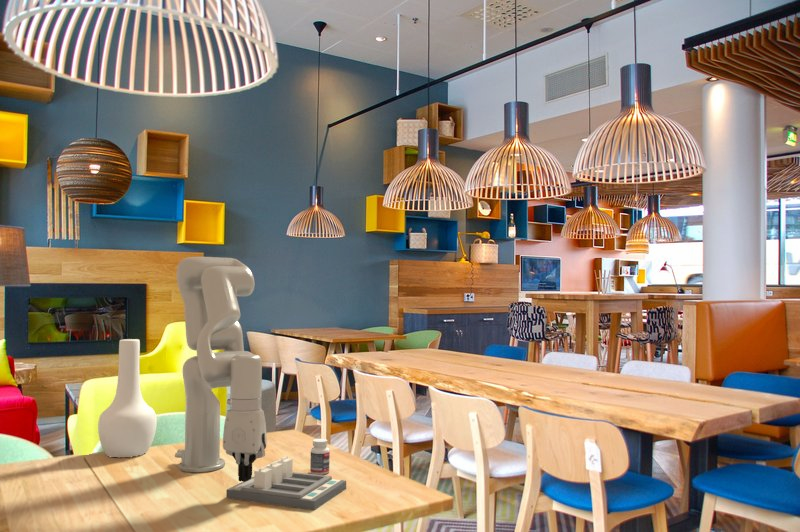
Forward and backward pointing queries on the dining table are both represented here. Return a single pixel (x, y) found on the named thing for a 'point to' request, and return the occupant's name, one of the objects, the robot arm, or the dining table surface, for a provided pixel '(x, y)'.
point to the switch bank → (291, 491)
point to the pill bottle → (320, 457)
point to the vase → (127, 409)
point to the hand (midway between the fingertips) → (245, 479)
